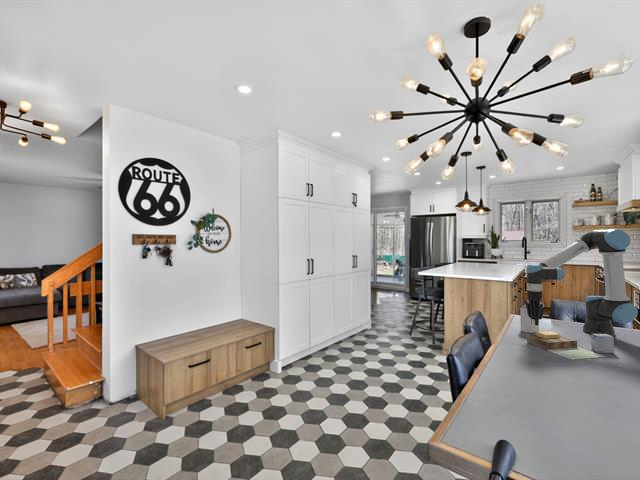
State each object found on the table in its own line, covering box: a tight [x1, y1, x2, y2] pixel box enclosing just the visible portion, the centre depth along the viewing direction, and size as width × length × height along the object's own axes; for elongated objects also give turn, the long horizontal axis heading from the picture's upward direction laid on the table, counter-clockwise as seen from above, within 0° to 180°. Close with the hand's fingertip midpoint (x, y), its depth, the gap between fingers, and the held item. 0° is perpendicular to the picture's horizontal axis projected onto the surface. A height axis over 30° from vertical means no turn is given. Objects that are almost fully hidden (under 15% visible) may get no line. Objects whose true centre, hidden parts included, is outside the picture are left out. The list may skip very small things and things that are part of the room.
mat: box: [546, 346, 607, 361], centre depth 161 cm, size 20×14×1 cm
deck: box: [526, 333, 578, 351], centre depth 175 cm, size 18×14×4 cm
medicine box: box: [590, 334, 615, 354], centre depth 164 cm, size 8×4×9 cm, turn 84°
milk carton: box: [519, 304, 540, 334], centre depth 201 cm, size 7×7×19 cm
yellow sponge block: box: [536, 330, 561, 339], centre depth 177 cm, size 9×6×2 cm, turn 99°
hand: (535, 330), depth 186 cm, fingers closed
